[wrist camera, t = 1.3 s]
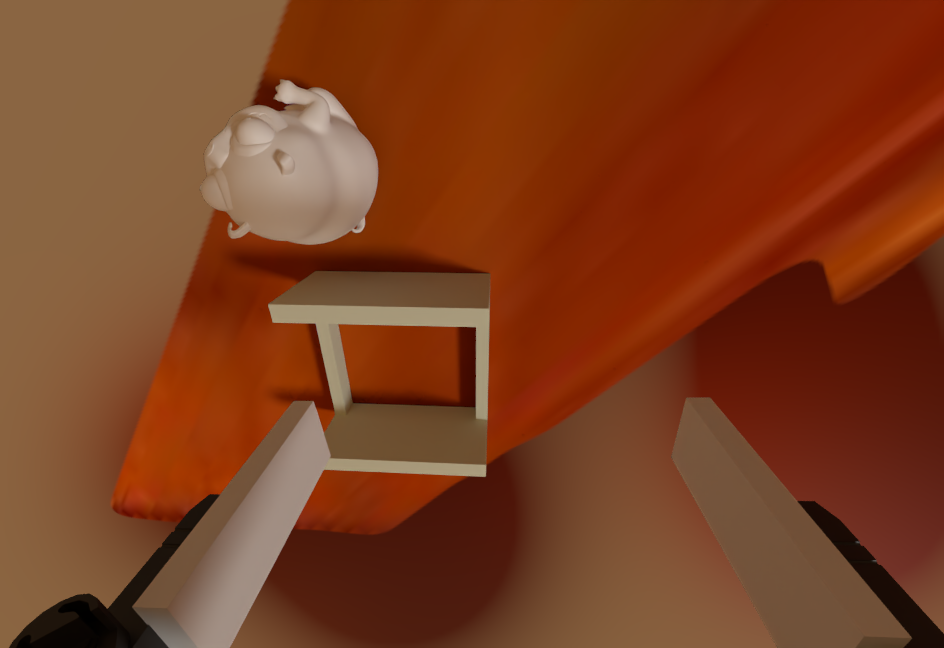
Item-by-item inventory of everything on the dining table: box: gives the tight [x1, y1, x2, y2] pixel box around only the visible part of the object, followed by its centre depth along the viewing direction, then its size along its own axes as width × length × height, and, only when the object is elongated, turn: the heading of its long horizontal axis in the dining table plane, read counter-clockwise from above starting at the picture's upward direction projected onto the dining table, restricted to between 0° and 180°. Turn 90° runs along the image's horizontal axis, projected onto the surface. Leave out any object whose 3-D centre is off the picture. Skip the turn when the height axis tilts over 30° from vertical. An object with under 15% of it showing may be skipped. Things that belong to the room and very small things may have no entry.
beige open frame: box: [268, 271, 490, 477], centre depth 34 cm, size 17×16×8 cm
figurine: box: [200, 79, 378, 245], centre depth 25 cm, size 10×10×12 cm
